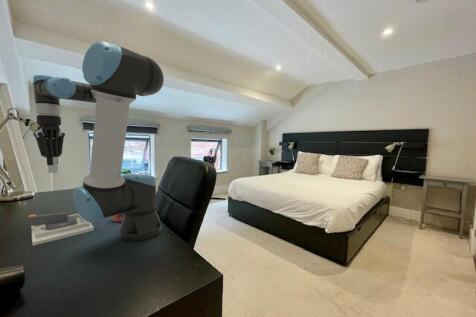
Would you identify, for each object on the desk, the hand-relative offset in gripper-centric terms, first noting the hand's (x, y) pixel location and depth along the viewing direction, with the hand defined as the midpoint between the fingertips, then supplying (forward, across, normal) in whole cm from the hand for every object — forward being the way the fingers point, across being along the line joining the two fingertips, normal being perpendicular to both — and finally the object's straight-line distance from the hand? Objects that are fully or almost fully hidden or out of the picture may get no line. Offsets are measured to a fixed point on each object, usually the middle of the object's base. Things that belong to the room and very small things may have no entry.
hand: (53, 172), depth 90 cm
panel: (+23, +4, +5) cm, 24 cm away
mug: (+23, -7, +25) cm, 35 cm away
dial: (+21, +5, +3) cm, 22 cm away
